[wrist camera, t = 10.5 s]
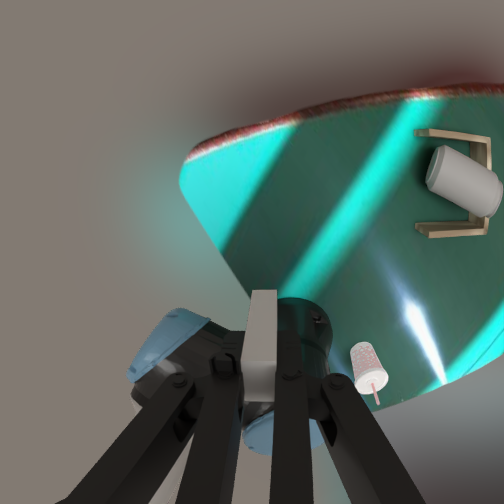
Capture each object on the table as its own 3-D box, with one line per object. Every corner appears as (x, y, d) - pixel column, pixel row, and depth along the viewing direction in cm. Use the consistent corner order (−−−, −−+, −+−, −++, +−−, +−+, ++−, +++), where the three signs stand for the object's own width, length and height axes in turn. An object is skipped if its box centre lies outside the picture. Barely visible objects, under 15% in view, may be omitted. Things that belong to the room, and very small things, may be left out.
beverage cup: (340, 352, 50) (353, 407, 37) (364, 333, 48) (384, 386, 35) (358, 366, 51) (372, 419, 38) (381, 348, 49) (402, 399, 36)
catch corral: (471, 225, 39) (487, 234, 34) (415, 228, 41) (428, 238, 36) (473, 136, 34) (490, 137, 29) (413, 129, 35) (429, 128, 30)
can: (420, 190, 38) (480, 222, 34) (429, 183, 31) (497, 222, 27) (433, 149, 36) (491, 181, 32) (443, 135, 29) (510, 174, 25)
